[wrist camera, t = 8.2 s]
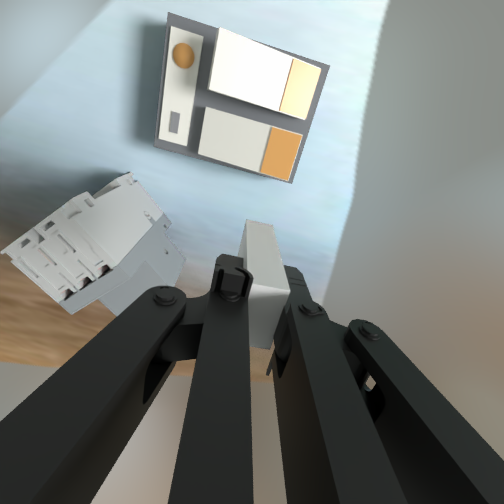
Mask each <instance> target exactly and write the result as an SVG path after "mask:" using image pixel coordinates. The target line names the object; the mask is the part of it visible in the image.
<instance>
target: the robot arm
mask: <svg viewBox="0 0 504 504" xmlns="http://www.w3.org/2000/svg"><path fill="white" fill-rule="evenodd" d="M273 339H274V344H275V349H274V352H273V354H272V357H271V360H270V363H269V365H268V368H267V372H266V375H268V376H269V374H270V371H271V369H272V371H273V380H274V388H275V398H276V407H277V416H278V425H279V433H280V443H281V452H282V461H283V471H284V479H285V488H286V497H287V504H504V461H503V460H502V458H501V457H500V456H499V455H498V454H497V453H496V452H495V451H494V450H493V449H492V448H491V447H490V446H489V444H488V443H487V442H486V441H485V440H484V439H483V438H482V437H481V436H480V435H479V434H478V433H477V431H476V430H475V429H474V428H473V427H472V426H471V425H470V424H469V423H468V422H467V421H466V420H465V419H464V418H463V417H462V415H461V414H460V413H459V412H458V411H457V410H456V409H455V408H454V407H453V406H452V405H451V404H450V402H449V401H447V399H446V398H445V397H444V396H443V395H442V394H441V393H440V392H439V391H438V390H437V389H436V387H435V386H434V385H433V384H432V383H431V382H430V381H429V380H428V379H427V378H426V377H425V376H424V374H423V373H422V372H421V371H419V369H418V368H417V367H416V366H415V365H414V364H413V363H412V362H411V360H410V359H409V358H408V357H407V356H406V355H405V354H404V353H403V352H402V351H401V350H400V349H399V348H398V347H397V345H396V344H395V343H394V342H393V341H392V340H391V339H390V338H389V337H388V336H387V335H386V334H385V333H384V332H383V331H382V330H381V329H380V328H379V327H377V326H376V325H374V324H373V323H371V322H368V321H365V320H360V319H356V320H352V321H351V322H350V323H349V326H348V327H345V326H342V325H340V324H337V323H335V322H333V321H330V320H329V318H328V315H327V313H326V311H325V310H324V308H323V307H321V306H320V305H319V304H318V303H316V302H314V301H312V298H311V295H310V293H309V290H308V288H307V285H306V282H305V280H304V277H303V274H302V273H301V272H300V271H299V270H298V269H297V268H295V267H290V266H285V265H283V262H282V258H281V254H280V251H279V247H278V243H277V240H276V236H275V232H274V229H273V225H269V224H265V223H260V222H256V221H251V220H247V219H246V223H245V227H244V231H243V235H242V240H241V244H240V248H239V252H238V256H237V257H236V256H231V255H226V254H221V255H220V256H219V257H217V259H216V264H215V269H214V274H213V279H212V283H211V288H210V291H209V292H208V293H207V294H205V295H203V296H201V297H196V298H186V294H185V293H184V292H183V291H182V290H180V289H178V288H176V287H172V286H164V285H163V286H155V287H151V288H150V289H148V290H146V291H145V292H144V293H143V294H142V295H140V296H139V297H138V298H137V299H136V300H135V301H134V302H133V303H132V304H130V305H129V306H128V307H127V308H126V309H125V310H124V311H123V312H122V313H120V314H119V315H118V316H117V317H116V318H115V319H114V320H113V321H112V322H110V323H109V324H108V325H107V326H106V327H105V328H104V329H103V330H102V331H100V332H99V333H98V334H97V335H96V336H95V337H94V338H93V339H92V340H90V341H89V342H88V343H87V344H86V345H85V346H84V347H83V348H82V349H80V350H79V351H78V352H77V353H76V354H75V355H74V356H73V357H72V358H70V359H69V360H68V361H67V362H66V363H65V364H64V365H63V366H62V367H60V368H59V369H58V370H57V371H56V372H55V373H54V374H53V375H52V376H51V377H49V378H48V380H46V381H45V382H44V383H43V384H42V385H40V386H39V387H38V388H37V389H36V390H35V391H34V392H33V393H32V394H30V395H29V396H28V397H27V398H26V399H25V400H24V401H23V402H22V403H21V404H19V405H18V406H17V407H16V408H15V409H14V410H13V411H12V412H10V413H9V414H8V415H7V416H6V417H5V418H4V419H3V420H2V421H0V504H90V503H91V502H92V500H93V498H94V496H95V495H96V493H97V492H98V490H99V489H100V487H101V485H102V484H103V482H104V481H105V479H106V477H107V476H108V474H109V472H110V471H111V469H112V467H113V466H114V464H115V463H116V461H117V459H118V457H119V456H120V454H121V453H122V451H123V450H124V448H125V446H126V445H127V443H128V441H129V440H130V438H131V437H132V435H133V433H134V432H135V430H136V428H137V427H138V425H139V423H140V422H141V420H142V419H143V417H144V415H145V414H146V412H147V410H148V409H149V407H150V406H151V404H152V402H153V401H154V399H155V397H156V396H157V394H158V393H159V391H160V389H161V387H162V386H163V384H164V383H165V381H166V379H167V378H168V376H169V375H170V373H171V371H172V370H173V368H174V366H175V364H176V361H181V360H189V359H196V363H195V368H194V373H193V378H192V383H191V388H190V394H189V398H188V403H187V408H186V414H185V418H184V424H183V429H182V434H181V439H180V444H179V449H178V454H177V459H176V464H175V469H174V474H173V479H172V484H171V489H170V494H169V499H168V504H253V503H254V501H253V465H252V426H251V391H250V390H251V389H250V351H249V346H251V347H257V348H263V349H269V350H270V348H271V345H272V342H273ZM370 375H371V376H372V378H373V379H374V381H375V382H376V384H375V386H374V388H373V389H372V390H370V389H369V388H368V387H367V385H366V384H365V383H366V381H367V380H368V378H369V376H370Z"/></svg>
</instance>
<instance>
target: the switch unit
mask: <svg viewBox="0 0 504 504" xmlns="http://www.w3.org/2000/svg"><path fill="white" fill-rule="evenodd" d="M217 30H218V28H215V27H212V26H209V25H206V24H203V23H200V22H197V21H194V20H191V19H188V18H185V17H182V16H179V15H176V14H173V13H170V12H168V16H167V26H166V35H165V45H164V54H163V64H162V73H161V83H160V93H159V102H158V112H157V121H156V131H155V140H154V147H157V148H160V149H164V150H168V151H172V152H175V153H179V154H183V155H186V156H190V157H194V158H198V159H201V160H205V161H209V162H213V163H216V164H220V165H224V166H227V167H231V168H235V169H239V170H242V171H246V172H250V173H254V174H257V175H261V176H265V177H269V178H272V179H276V180H280V181H283V182H287V183H291V184H292V182H293V179H294V176H295V173H296V170H297V166H298V163H299V160H300V157H301V154H302V151H303V148H304V145H305V142H306V139H307V135H308V132H309V129H310V126H311V123H312V120H313V117H314V114H315V111H316V107H317V104H318V101H319V98H320V95H321V92H322V89H323V86H324V83H325V80H326V76H327V73H328V70H329V67H330V65H327V64H324V63H321V62H317V61H314V60H311V59H308V58H305V57H302V56H299V55H296V54H293V53H290V52H287V51H284V50H281V49H278V48H275V47H272V46H269V45H266V44H263V43H260V42H258V43H260V44H263V45H265V46H267V47H270V48H272V49H275V50H277V51H280V52H282V53H284V54H287V55H289V56H292V57H294V58H297V59H299V60H302V61H304V62H306V63H309V64H311V65H314V66H316V67H319V68H321V72H320V75H319V78H318V82H317V85H316V88H315V91H314V94H313V98H312V101H311V104H310V107H309V110H308V114H307V117H306V119H305V120H302V119H298V118H295V117H292V116H289V115H285V114H282V113H279V112H276V111H273V110H270V109H267V108H263V107H260V106H257V105H254V104H251V103H248V102H245V101H242V100H238V99H235V98H232V97H229V96H226V95H223V94H220V93H216V92H213V91H210V90H207V88H208V82H209V76H210V70H211V64H212V58H213V52H214V46H215V40H216V34H217ZM250 40H251V39H250ZM253 41H254V40H253ZM255 42H257V41H255ZM206 107H209V108H213V109H216V110H219V111H223V112H226V113H230V114H233V115H237V116H240V117H244V118H247V119H250V120H254V121H257V122H261V123H264V124H268V125H271V126H274V127H278V128H281V129H285V130H288V131H292V132H295V133H299V134H302V135H303V136H302V139H301V143H300V146H299V149H298V152H297V155H296V159H295V162H294V165H293V168H292V171H291V174H290V178H289V180H288V181H285V180H282V179H278V178H275V177H272V176H269V175H265V174H262V173H259V172H255V171H252V170H249V169H246V168H242V167H239V166H236V165H233V164H229V163H226V162H223V161H220V160H216V159H213V158H210V157H207V156H203V155H200V154H198V150H199V144H200V139H201V133H202V127H203V121H204V115H205V109H206Z"/></svg>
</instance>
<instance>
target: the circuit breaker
mask: <svg viewBox="0 0 504 504" xmlns="http://www.w3.org/2000/svg"><path fill="white" fill-rule="evenodd" d="M132 175H133V174H132V172H130V173H128V174H125V175H123V176H120V177H118V178H116V179H114V180H113V181H112V182H110V183H109V184H108V185H106V186H105V187H103V188H102V189H101V190H99V191H98V192H97V193H95V194H94V195H92V196H91V195H90V194H89V193H88V192H87V191H86V192H84V193H82V194H80V195H77V196H75V197H73V198H72V199H70V200H69V201H68V202H67V203H65V204H64V205H63V206H61V207H60V208H58V209H57V210H56V211H54V212H53V213H52V214H50V215H49V216H48V217H46V218H45V219H44V220H42V221H41V222H39V223H38V224H37V225H35V226H34V227H33V228H31V229H30V230H29V231H27V232H26V233H25V234H23V235H22V236H21V237H19V238H18V239H16V240H15V241H14V242H12V243H11V244H10V245H9V246H7V247H6V248H5V249H3V250H2V251H1V252H0V253H1V254H4V253H5V252H6V253H7V254H8V255H9V256H10V257H11V258H12V259H13V260H12V261H11V262H12V263H13V264H14V265H15V266H16V267H17V268H18V269H20V270H21V271H22V272H23V273H24V274H25V275H26V276H28V277H29V278H30V279H31V280H32V281H33V282H34V283H36V284H37V285H38V286H39V287H40V288H41V289H42V290H44V291H45V292H46V293H47V294H48V295H49V296H50V297H52V298H53V299H54V300H55V301H56V302H57V303H58V302H59V303H58V304H60V305H61V306H62V307H63V308H64V309H65V310H66V311H68V312H69V313H70V314H74V313H75V312H77V311H79V310H80V309H82V308H83V307H85V306H87V305H88V304H90V303H92V302H93V301H95V300H97V299H99V300H100V301H101V302H102V303H103V304H104V305H105V306H106V307H107V308H108V309H109V310H110V311H111V312H112V313H114V314H115V315H116V316H118V315H119V314H120V313H122V312H123V311H124V310H125V309H126V308H127V307H128V306H129V305H130V304H132V303H133V302H134V301H135V300H136V299H137V298H138V297H139V296H140V295H142V294H143V293H144V292H145V291H146V290H148V289H150V288H151V287H155V286H163V285H164V286H172V287H174V285H175V283H176V281H177V279H178V276H179V274H180V272H181V269H182V267H183V265H184V262H185V260H186V258H185V257H184V256H183V255H182V254H181V252H180V251H179V250H178V249H177V247H176V246H175V245H174V244H173V242H172V241H171V240H170V239H169V238H168V236H167V235H166V234H165V232H166V230H167V228H168V227H169V226H170V225H171V221H170V220H169V219H168V218H167V216H166V215H165V214H164V213H163V211H162V210H161V209H160V208H159V206H158V205H157V204H156V203H155V201H154V200H153V199H152V197H151V196H150V195H149V194H148V192H147V191H146V190H145V189H144V187H143V186H142V185H141V184H140V182H139V181H137V182H135V180H134V179H133V178H132V177H131V176H132Z"/></svg>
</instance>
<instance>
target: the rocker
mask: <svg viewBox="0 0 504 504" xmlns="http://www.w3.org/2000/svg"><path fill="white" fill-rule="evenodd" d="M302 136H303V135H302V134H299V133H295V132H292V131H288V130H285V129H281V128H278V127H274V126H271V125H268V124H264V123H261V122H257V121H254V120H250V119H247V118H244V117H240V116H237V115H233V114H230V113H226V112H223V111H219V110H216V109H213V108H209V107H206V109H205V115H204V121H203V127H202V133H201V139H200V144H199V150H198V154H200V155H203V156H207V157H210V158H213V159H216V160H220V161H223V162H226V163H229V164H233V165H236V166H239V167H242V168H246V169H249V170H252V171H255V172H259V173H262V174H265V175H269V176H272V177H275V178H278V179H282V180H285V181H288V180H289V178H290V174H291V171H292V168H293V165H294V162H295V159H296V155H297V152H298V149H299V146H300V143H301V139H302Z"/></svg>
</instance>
